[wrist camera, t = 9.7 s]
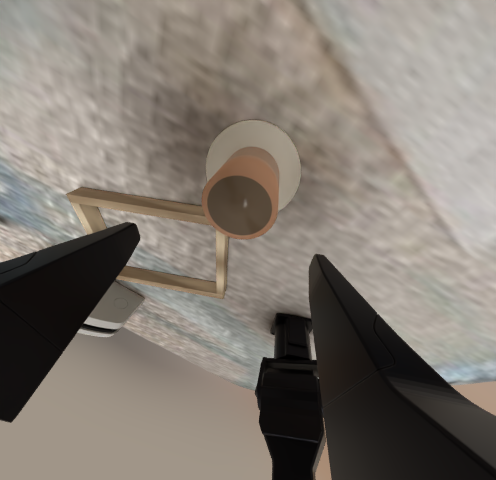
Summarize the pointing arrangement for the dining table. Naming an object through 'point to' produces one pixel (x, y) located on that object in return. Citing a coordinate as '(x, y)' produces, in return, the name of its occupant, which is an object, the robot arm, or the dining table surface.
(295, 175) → the cream saucer
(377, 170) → the dining table surface
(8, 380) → the robot arm
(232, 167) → the terracotta pot
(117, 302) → the light grey slab casing
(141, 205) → the wooden frame
